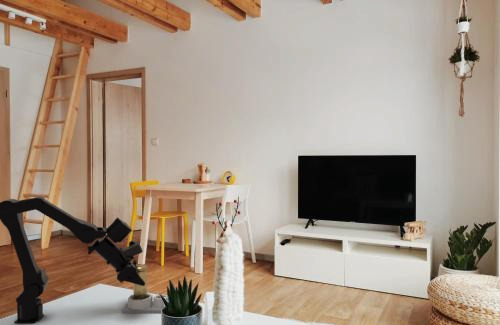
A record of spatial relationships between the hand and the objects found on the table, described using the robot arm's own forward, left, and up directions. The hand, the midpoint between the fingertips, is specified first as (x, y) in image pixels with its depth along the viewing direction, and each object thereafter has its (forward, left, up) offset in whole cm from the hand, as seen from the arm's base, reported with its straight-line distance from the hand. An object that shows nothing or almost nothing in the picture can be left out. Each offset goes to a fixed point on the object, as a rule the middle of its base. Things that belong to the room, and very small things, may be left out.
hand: (144, 282), depth 145 cm
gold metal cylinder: (-1, 0, -7) cm, 7 cm away
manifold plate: (+2, 0, -9) cm, 9 cm away
